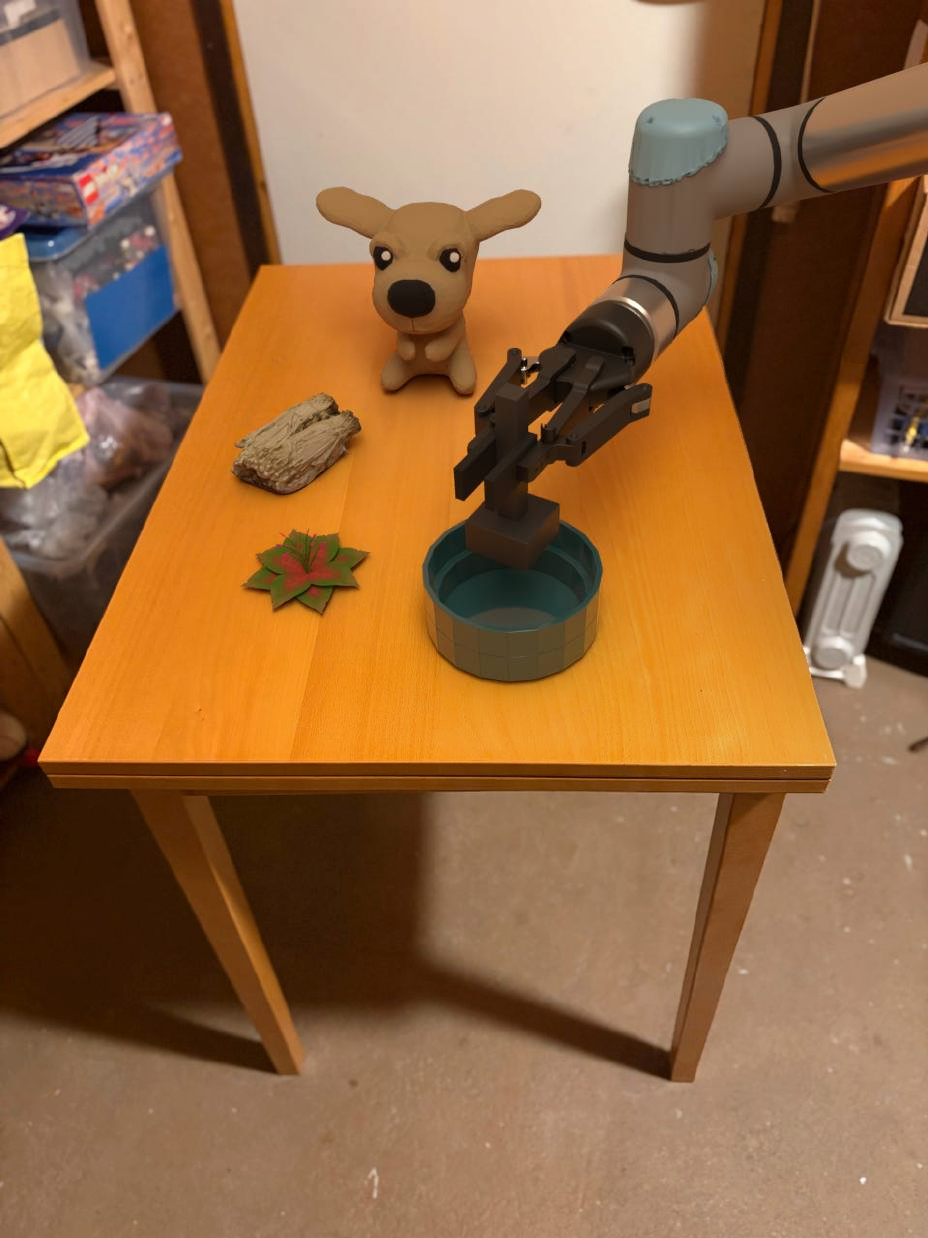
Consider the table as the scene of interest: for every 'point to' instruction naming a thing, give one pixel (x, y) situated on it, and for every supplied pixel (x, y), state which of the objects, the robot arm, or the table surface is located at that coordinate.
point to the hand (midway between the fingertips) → (474, 489)
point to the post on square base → (513, 498)
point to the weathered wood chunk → (295, 445)
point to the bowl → (513, 606)
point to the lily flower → (305, 569)
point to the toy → (426, 273)
